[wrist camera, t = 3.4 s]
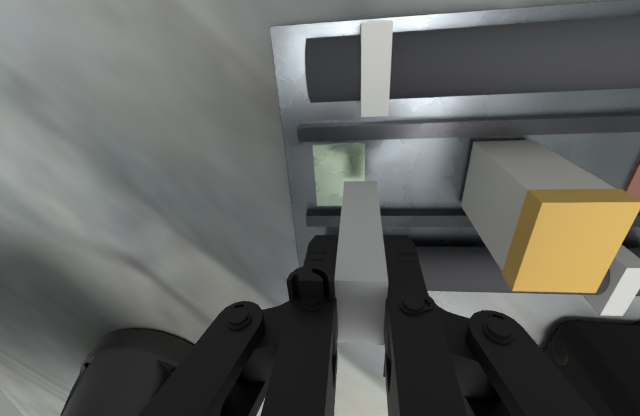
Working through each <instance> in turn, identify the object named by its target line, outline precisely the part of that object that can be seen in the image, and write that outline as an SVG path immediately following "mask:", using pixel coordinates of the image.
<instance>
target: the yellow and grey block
mask: <svg viewBox="0 0 640 416" xmlns="http://www.w3.org/2000/svg"><path fill="white" fill-rule="evenodd" d="M461 207H462V208H463V210H464V212H465V213H466V215H467V216H468V218H469V220H470V221H471V223H472V224H473V226H474V228H475V229H476V231H477V232H478V234H479V236H480V237H481V239H482V240H483V242H484V244H485V245H486V247H487V248H488V250H489V252H490V253H491V255H492V256H493V258H494V260H495V261H496V263H497V264H498V266H499V267H500V269H501V271H502V276H503V277H504V279H505V280H506V282H507V284H508V285H509V287H510V289H511V290H512V291H529V292H570V293H596V291H597V290H598V288H599V286H600V284H601V282H602V280H603V278H604V276H605V275H606V273H607V271H608V269H609V267H610V265H611V263H612V261H613V259H614V258H615V256H616V254H617V252H618V250H619V248H620V246H621V244H622V242H623V241H624V239H625V237H626V235H627V233H628V231H629V229H630V227H631V225H632V224H633V222H634V220H635V218H636V216H637V214H638V212H639V210H640V200H639V199H638V198H636V197H634V196H632V195H631V194H629V193H627V192H626V191H624V190H622V189H616V188H614V187H613V186H611V185H609V184H608V183H606V182H604V181H602V180H601V179H599V178H597V177H596V176H594V175H592V174H591V173H589V172H587V171H585V170H584V169H582V168H580V167H579V166H577V165H575V164H573V163H572V162H570V161H568V160H567V159H565V158H563V157H562V156H560V155H558V154H556V153H555V152H553V151H551V150H550V149H548V148H546V147H545V146H543V145H541V144H539V143H538V142H536V141H534V140H505V141H473V146H472V151H471V157H470V162H469V167H468V172H467V177H466V182H465V188H464V193H463V198H462V203H461Z"/></svg>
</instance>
